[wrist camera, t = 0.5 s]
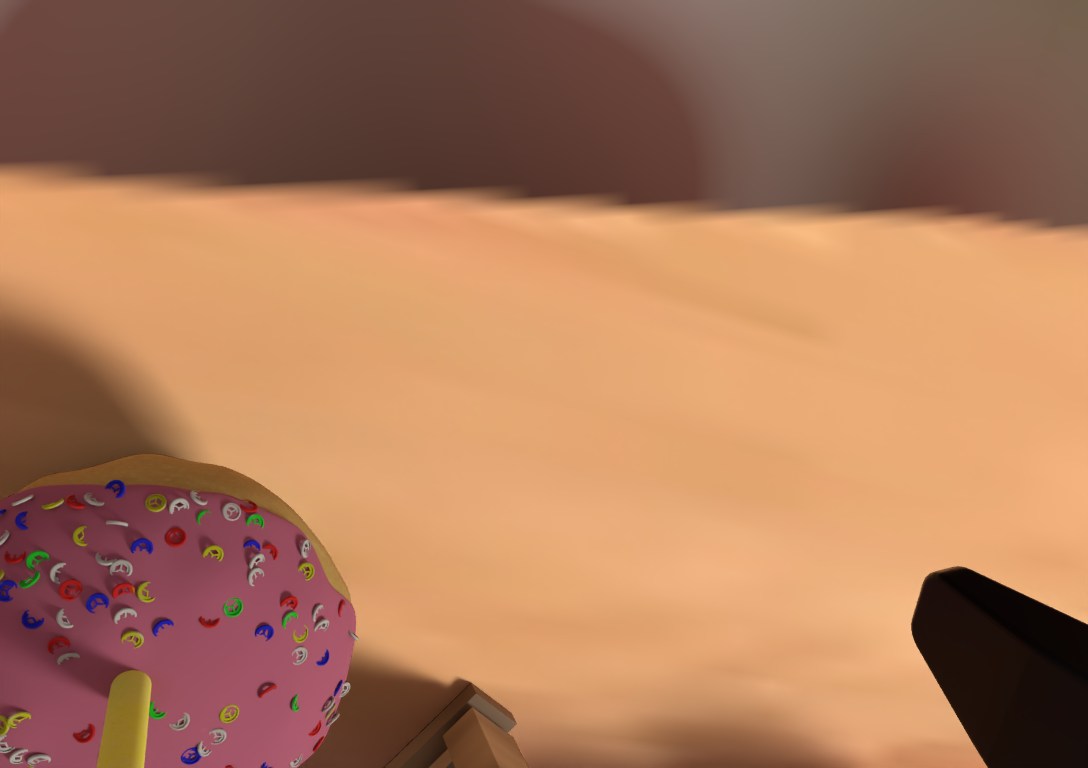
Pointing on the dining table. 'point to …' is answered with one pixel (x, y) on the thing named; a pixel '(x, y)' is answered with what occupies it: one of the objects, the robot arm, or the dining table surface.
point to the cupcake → (165, 622)
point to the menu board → (479, 745)
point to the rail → (430, 742)
